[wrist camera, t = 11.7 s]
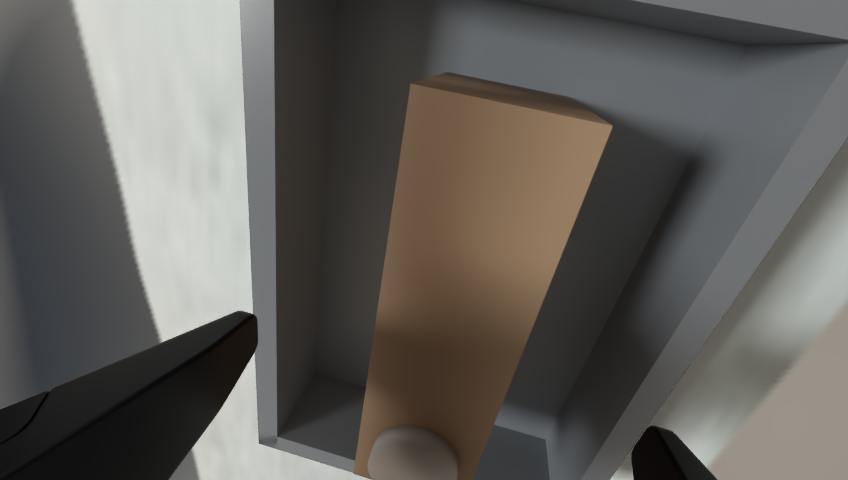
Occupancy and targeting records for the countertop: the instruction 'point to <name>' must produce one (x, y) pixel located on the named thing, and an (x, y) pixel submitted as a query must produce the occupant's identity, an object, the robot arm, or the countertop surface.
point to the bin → (595, 223)
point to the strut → (467, 265)
